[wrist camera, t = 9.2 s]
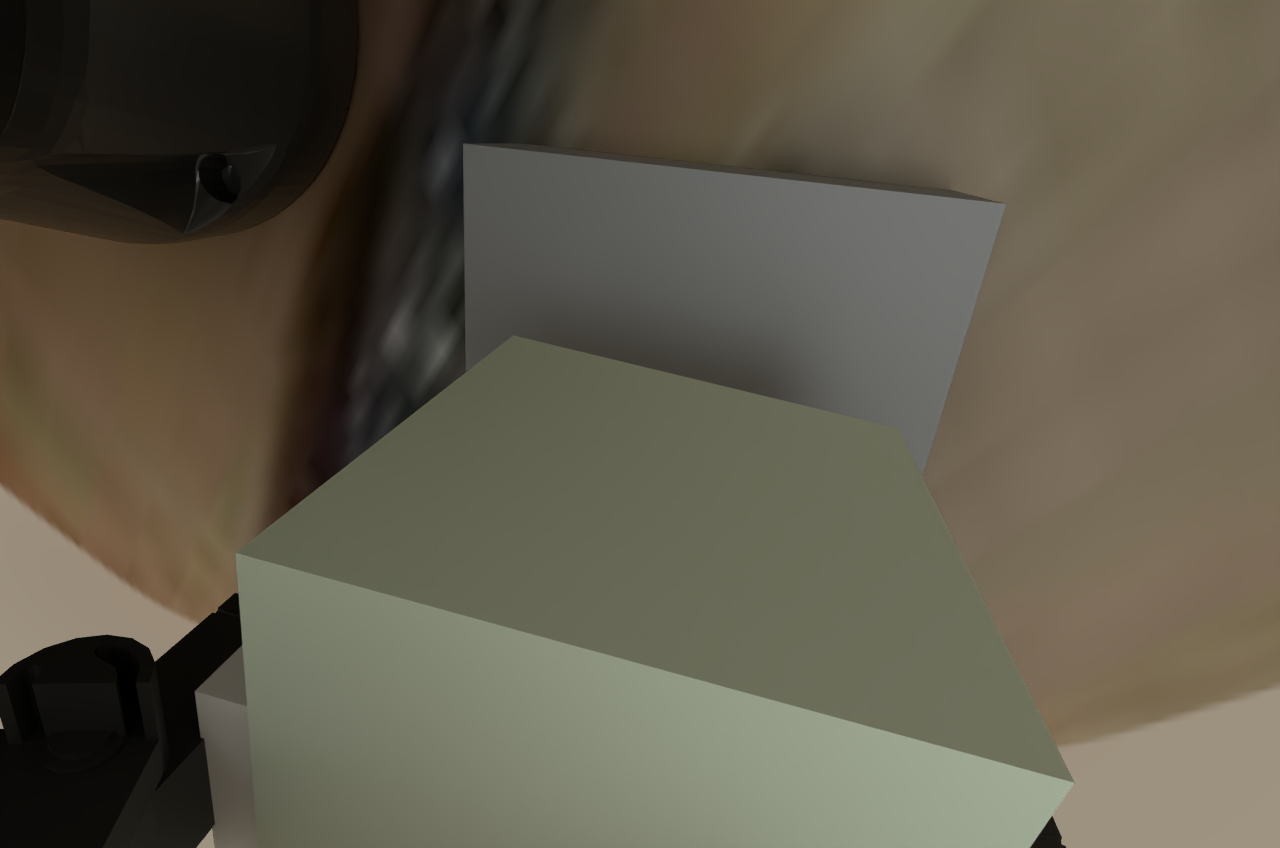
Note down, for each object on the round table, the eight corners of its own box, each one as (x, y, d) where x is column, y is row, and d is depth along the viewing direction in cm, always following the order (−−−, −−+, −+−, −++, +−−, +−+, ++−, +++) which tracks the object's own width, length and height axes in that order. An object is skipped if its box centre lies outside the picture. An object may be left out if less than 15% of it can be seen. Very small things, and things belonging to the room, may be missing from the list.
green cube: (478, 630, 15) (268, 995, 8) (513, 335, 12) (235, 552, 6) (784, 714, 14) (806, 1169, 8) (898, 428, 11) (1075, 782, 5)
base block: (517, 496, 26) (468, 570, 22) (526, 143, 21) (463, 143, 16) (849, 552, 25) (870, 644, 20) (948, 189, 20) (1006, 204, 15)
